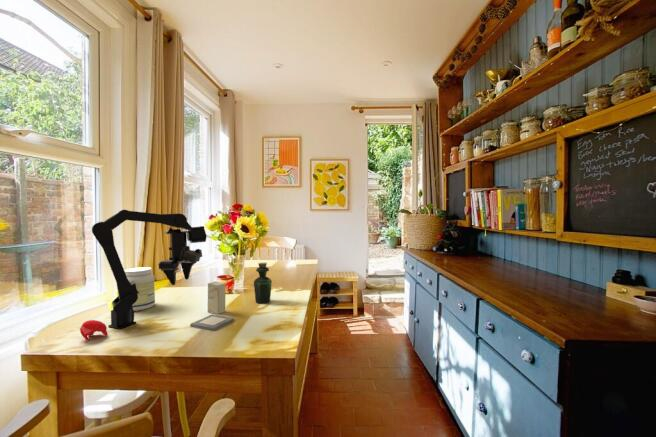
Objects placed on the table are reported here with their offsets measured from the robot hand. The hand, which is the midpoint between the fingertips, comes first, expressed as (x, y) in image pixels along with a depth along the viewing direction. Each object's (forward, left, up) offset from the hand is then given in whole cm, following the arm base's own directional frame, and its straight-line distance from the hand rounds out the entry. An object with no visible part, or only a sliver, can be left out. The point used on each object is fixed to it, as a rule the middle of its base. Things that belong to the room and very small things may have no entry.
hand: (180, 282), depth 128 cm
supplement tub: (0, +24, -13) cm, 28 cm away
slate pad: (-3, -20, -13) cm, 24 cm away
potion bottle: (+27, -22, -13) cm, 37 cm away
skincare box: (+8, -12, -13) cm, 19 cm away
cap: (-28, +8, -14) cm, 32 cm away
